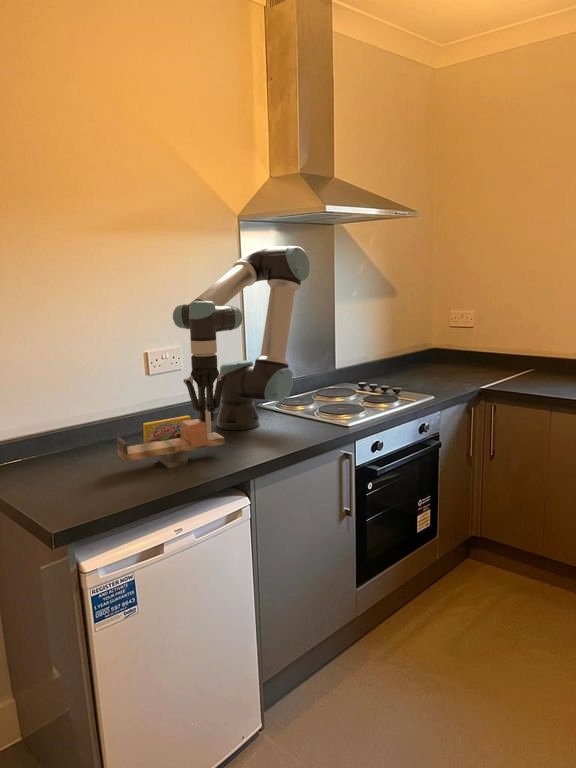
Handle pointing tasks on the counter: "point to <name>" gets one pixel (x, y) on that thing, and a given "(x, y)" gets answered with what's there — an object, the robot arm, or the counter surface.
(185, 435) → the block
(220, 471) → the counter surface
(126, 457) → the beam
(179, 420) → the candy box
